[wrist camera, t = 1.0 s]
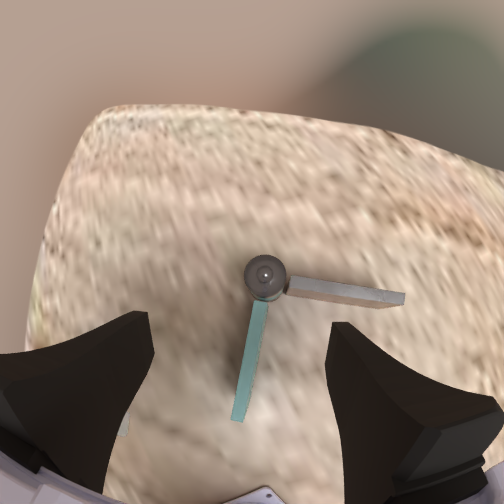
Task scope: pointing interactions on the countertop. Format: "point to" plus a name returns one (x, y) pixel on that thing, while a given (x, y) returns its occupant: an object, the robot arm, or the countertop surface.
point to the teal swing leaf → (250, 358)
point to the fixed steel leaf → (312, 286)
